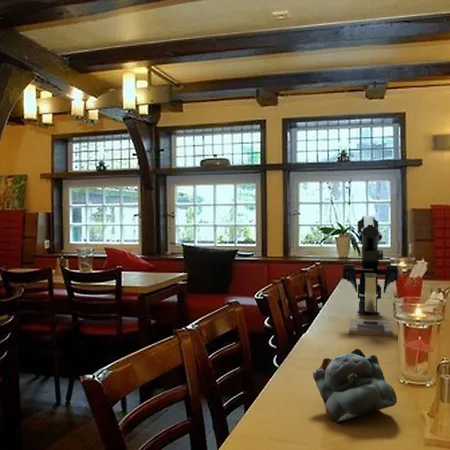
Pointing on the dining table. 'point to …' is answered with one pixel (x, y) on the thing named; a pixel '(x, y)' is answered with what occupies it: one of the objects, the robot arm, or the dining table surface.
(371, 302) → the tan cylinder
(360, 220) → the robot arm
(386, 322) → the walnut eye plate
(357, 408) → the lucky cat figurine
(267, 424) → the dining table surface
